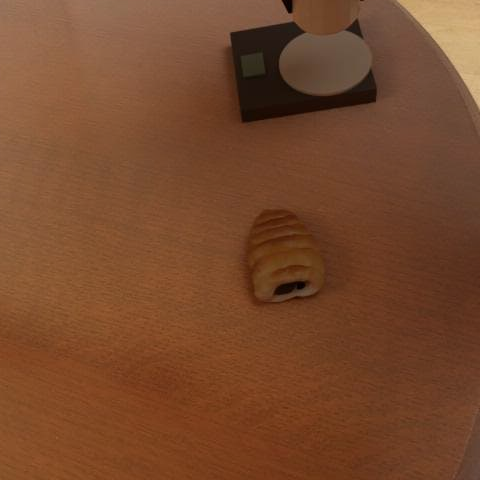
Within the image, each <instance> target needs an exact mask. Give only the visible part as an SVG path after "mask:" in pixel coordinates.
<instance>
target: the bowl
mask: <svg viewBox="0 0 480 480" xmlns="http://www.w3.org/2000/svg"><path fill="white" fill-rule="evenodd" d="M361 2H362V1H361V0H292V5H293V9H292V10H293V13H291V17H292V22H293V21H294V22H295V23H296V24H297V25H298V26H299V27H300V28H301V29H302V30H304V31H305V32H307V33H310V34H314V35H322V36H323V35H332V34H336V33H339V32H341V31H343V30H345V29H347V28H348V27H349V26H350V25H351V24H352V23H353V22H354V21H355V20H356V19H357V18H359V15H360V14H359V13H360V11H361Z"/></svg>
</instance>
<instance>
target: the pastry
mask: <svg viewBox="0 0 480 480" xmlns="http://www.w3.org/2000/svg"><path fill="white" fill-rule="evenodd" d="M246 263H247V265H248V266H249V270H250V271H249V273H250V277H251V278H250V279H251V281H252V284H253V289H254V292H253V294H254V296H255V297H256V299H257V300H258V301H260V302H265V303H271V304H272V303H282V302H284V301H287V300H291V299H293V298H295V297H309V296H313V295H316V293H318V292H319V291H320V290H321V289H322V287H323V285H324V283H325V274H326V269H327V268H326V267H327V266H326V262H325V261H324V258H323V255H322V252H321V251H320V245H319V243H318V241H317V240H316V239H315V237H314V235H313V234H312V232H311V231H310V230H309V228H308V227H307V226H306V225H304V223H302V221H300V218H299V217H298V216H297V215H296V214H295V213H294V212H292V211H291V210H289V209H288V210H287V209H285V208H278V209H277V208H276V209H267V208H266V209H263V210H261V211H260V212H259V214H258V216H256V217H255V219H254V220H253V223H252V227H251V229H250V231H249V238H248V251H247V255H246Z"/></svg>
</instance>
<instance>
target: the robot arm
mask: <svg viewBox="0 0 480 480" xmlns="http://www.w3.org/2000/svg"><path fill="white" fill-rule="evenodd" d="M364 1H365V0H361V2H364ZM281 2H282V4H283V6H284V8H285V10H286V12H287V13H288V15H290V14H291V15H292V13H293V10H292V9H293V5H292V0H281Z"/></svg>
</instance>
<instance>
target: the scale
mask: <svg viewBox="0 0 480 480" xmlns="http://www.w3.org/2000/svg"><path fill="white" fill-rule="evenodd" d="M229 37H230V45H231V51H232V59H233V67H234V74H235V83H236V89H237V96H238V105H239V112H240V118H241V119H240V120H241V123H248V122H255V121H260V120H267V119H274V118H280V117H287V116H293V115H299V114H300V115H301V114H305V113H313V112H318V111H326V110H332V109H337V108H343V107H349V106H350V107H351V106H357V105H362V104H369V103H375V102H377V94H378V87H377V82H376V80H375V76H374V72H373V68H372V65H373V54H372V50H371V49H370V47H369V45H368V43H366V41H365V40H364V39H365V38H364V36H363V33H362V29H361V26H360V21H359V17H357V19H356V20H355V21H354V22H353V23H352V24H351V25H350V26H349V27H348V28H347V29H345V30H343V31H341V32H339V33H336V34H332V35H323V36H322V35H314V34H310V33H307V32H305V31H304V30H302V29H301V28H300V27H299V26H298V25H297V24H296V23H295V22H294V21H293V20H292V21H289V22H283V23H282V22H281V23H277V24H272V25H265V26H260V27H254V28H248V29H242V30H237V31H231V32H229Z"/></svg>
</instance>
